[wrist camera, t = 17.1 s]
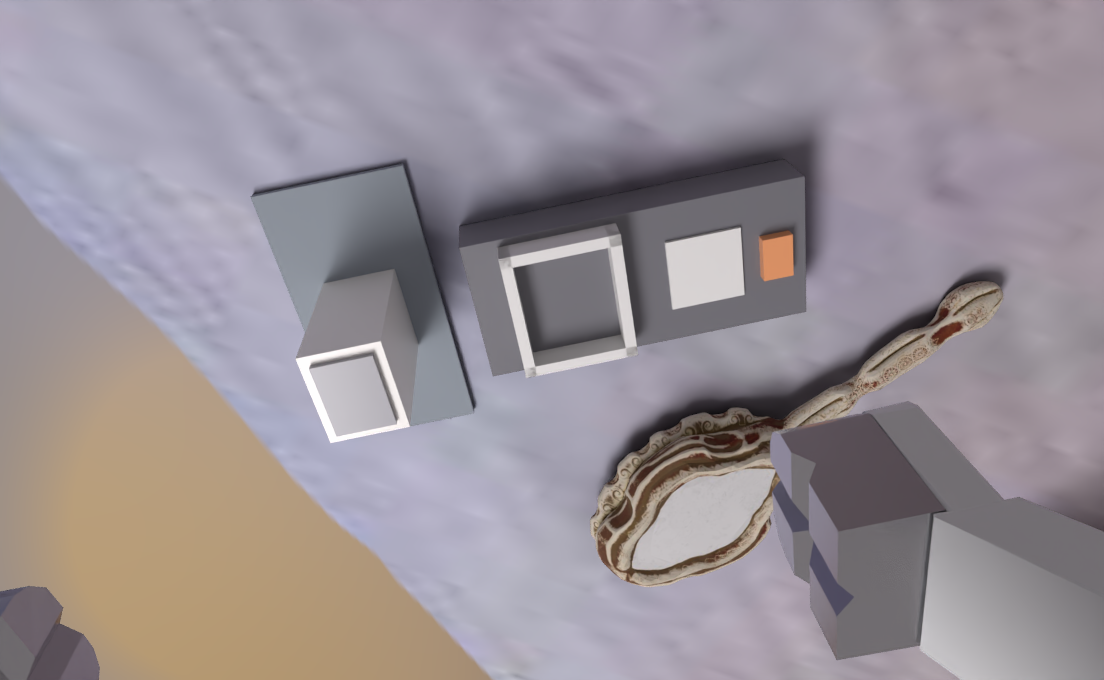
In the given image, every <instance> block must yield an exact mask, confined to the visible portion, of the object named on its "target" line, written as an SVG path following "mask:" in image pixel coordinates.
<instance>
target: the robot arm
mask: <svg viewBox="0 0 1104 680" xmlns="http://www.w3.org/2000/svg"><path fill="white" fill-rule="evenodd" d="M770 458H771V463H772V465H773V466H774V468H775V470H776V472H777V474H778V476H779V478H780V481H779V482H778V484H777V485H776V487H775V488H774V489H773V491H772V498H773V511H774V518H775V522H776V527H777V531H778V536H779V539H780V542H781V545H782V547H783V550H784V553H785V556H786V558H787V560H788V562H789V564H790V566H791V569H792V571H793V573H794V575H796V576H798V577H799V578H801V579H803V580H804V581H806V582H808V583H809V584H810V608H811V610H812V612H813V614H814V616H815V618H816V620H817V622H818V624H819V626H820V628H821V630H822V632H823V634H824V636H825V638H826V640H827V642H828V644H829V646H830V648H831V650H832V652H833V654H834V656H835V658H836V660H841V659H846V658H852V657H858V656H863V655H869V654H875V653H880V652H886V651H892V650H897V649H903V648H909V647H914V646H920V650H921V651H922V652H924V653H925V654H926V655H928V656H929V657H930V658H932V659H933V660H935V661H936V662H937V663H939V664H940V665H941V666H943V667H944V668H945V669H947V670H948V671H950V672H951V673H952V674H954V675H955V676H956V677H958V678H959V679H961V680H1104V532H1103V531H1101V530H1099V529H1096V528H1094V527H1091V526H1089V525H1086V524H1084V523H1081V522H1079V521H1077V520H1074V519H1072V518H1069V517H1067V516H1064V515H1062V514H1059V513H1057V512H1055V511H1052V510H1050V509H1047V508H1045V507H1042V506H1040V505H1037V504H1035V503H1032V502H1030V501H1028V500H1025V499H1023V498H1020V497H1017V498H1012V499H1007V500H1004V499H1003V498H1002V497H1001V496H1000V495H999V493H998V492H997V491H996V490H995V489H994V488H993V487H992V486H991V485H990V484H989V483H988V481H987V480H986V479H985V478H984V477H983V476H982V475H981V474H980V473H979V472H978V471H977V469H976V468H975V467H974V466H973V465H972V464H971V463H970V462H969V461H968V460H967V459H966V457H965V456H964V455H963V454H962V453H961V452H960V451H959V450H958V449H957V448H956V447H955V445H954V444H953V443H952V442H951V441H950V440H949V439H948V438H947V437H946V436H945V434H944V433H943V432H942V431H941V430H940V429H939V428H938V427H937V426H936V425H935V424H934V422H933V421H932V420H931V419H930V418H929V417H928V416H927V415H926V414H925V413H924V412H923V410H922V409H921V408H920V407H919V406H918V405H916V404H913V403H911V402H909V401H907V402H903V403H899V404H894V405H890V406H886V407H881V408H877V409H873V410H868V411H864V412H863V413H862V414H855V415H850V416H845V417H841V418H836V419H831V420H827V421H822V422H817V423H813V424H808V425H803V426H799V427H794V428H789V429H784V430H780V431H775V432H772V436H771V441H770ZM62 611H63V607H62V606H61V605H60V603H59V602H58V601H57V600H56V598H55V597H54V596H53V595H52V594H51V593H50V592H49V590H48V589H47V588H45V587H33V586H27V587H21V588H16V589H10V590H5V591H0V680H99V670H100V667H99V664H98V661H97V658H96V654H95V651H94V649H93V647H92V646H91V644H90V643H89V641H88V640H87V639H86V637H85V636H84V635H83V634H82V633H79V632H77V631H75V630H73V629H71V628H69V627H66V626H64V625H62V624H60V620H61V615H62Z"/></svg>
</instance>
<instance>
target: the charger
mask: <svg viewBox="0 0 1104 680" xmlns="http://www.w3.org/2000/svg"><path fill="white" fill-rule="evenodd" d="M418 346H419V345H418V342H417V338H416V335H415V332H414V329H413V326H412V323H411V319H410V316H409V313H408V310H407V307H406V304H405V301H404V297H403V294H402V291H401V288H400V285H399V282H398V278H397V275H396V272H395V269H391V270H386V271H381V272H376V273H371V274H366V275H362V276H357V277H352V278H347V279H342V280H338V281H333V282H328V283H323V286H322V289H321V291H320V294H319V297H318V299H317V302H316V305H315V308H314V310H313V313H312V316H311V318H310V321H309V324H308V327H307V329H306V332H305V335H304V337H303V340H302V343H301V346H300V348H299V351H298V354H297V356H296V361H297V363H298V366H299V368H300V370H301V373H302V375H303V378H304V380H305V382H306V385H307V387H308V390H309V392H310V394H311V397H312V399H313V402H314V404H315V406H316V409H317V411H318V414H319V416H320V418H321V421H322V423H323V425H324V428H325V430H326V433H327V435H328V437H329V440H330V442H331V443H333V442H338V441H343V440H348V439H352V438H357V437H362V436H367V435H372V434H377V433H382V432H386V431H391V430H396V429H401V428H406V427H410V422H411V413H412V403H413V394H414V384H415V375H416V365H417V355H418Z"/></svg>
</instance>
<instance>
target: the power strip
mask: <svg viewBox="0 0 1104 680" xmlns="http://www.w3.org/2000/svg"><path fill="white" fill-rule="evenodd" d="M459 250H460V253H461V257H462V261H463V265H464V268H465V272H466V276H467V280H468V284H469V287H470V291H471V295H472V299H473V303H474V306H475V310H476V314H477V318H478V321H479V325H480V329H481V333H482V337H483V340H484V344H485V348H486V352H487V356H488V359H489V363H490V367H491V371H492V374H493V376H497V375H502V374H507V373H512V372H517V371H521V370H525V374H526V378H530V377H534V376H539V375H544V374H549V373H554V372H559V371H563V370H568V369H573V368H578V367H583V366H588V365H592V364H597V363H602V362H607V361H612V360H617V359H622V358H626V357H631V356H636V355H638V351H637V347H638V346H642V345H647V344H652V343H657V342H662V341H667V340H672V339H676V338H681V337H686V336H691V335H696V334H701V333H705V332H710V331H715V330H720V329H725V328H730V327H734V326H739V325H744V324H749V323H754V322H759V321H764V320H768V319H773V318H778V317H783V316H788V315H793V314H797V313H802V312H806V244H805V176H804V175H803V174H801V173H800V172H799V171H798V170H796V169H795V168H794V167H793V166H792V165H790V164H789V163H788V162H787V161H785V160H784V159H781V160H777V161H772V162H767V163H762V164H757V165H753V166H748V167H743V168H738V169H733V170H728V171H724V172H719V173H714V174H709V175H704V176H700V177H695V178H690V179H685V180H680V181H675V182H671V183H666V184H661V185H656V186H651V187H647V188H642V189H637V190H632V191H627V192H623V193H618V194H613V195H608V196H603V197H598V198H594V199H589V200H584V201H579V202H574V203H570V204H565V205H560V206H555V207H550V208H546V209H541V210H536V211H531V212H526V213H521V214H517V215H512V216H507V217H502V218H497V219H493V220H488V221H483V222H478V223H473V224H469V225H464V226H459Z"/></svg>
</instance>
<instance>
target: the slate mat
mask: <svg viewBox="0 0 1104 680" xmlns="http://www.w3.org/2000/svg"><path fill="white" fill-rule="evenodd" d="M251 199H252V202H253V204H254V207H255V209H256V212H257V214H258V217H259V219H260V222H261V224H262V227H263V229H264V232H265V234H266V237H267V239H268V242H269V244H270V247H271V249H272V252H273V254H274V257H275V259H276V262H277V264H278V267H279V269H280V272H281V274H282V276H283V279H284V281H285V284H286V286H287V289H288V291H289V294H290V296H291V299H292V301H293V304H294V306H295V309H296V311H297V314H298V316H299V319H300V321H301V324H302V326H303V329H304V331H305V332H306V329H307V327H308V324H309V321H310V318H311V316H312V313H313V310H314V308H315V305H316V302H317V299H318V297H319V294H320V291H321V289H322V286H323V283H328V282H333V281H338V280H342V279H347V278H352V277H357V276H362V275H366V274H371V273H376V272H381V271H386V270H391V269H395V272H396V275H397V278H398V282H399V285H400V288H401V291H402V294H403V297H404V301H405V304H406V307H407V310H408V313H409V316H410V319H411V323H412V326H413V329H414V332H415V335H416V338H417V342H418V345H419V346H418V355H417V365H416V375H415V384H414V394H413V403H412V413H411V422H410V426H414V425H419V424H424V423H429V422H434V421H439V420H443V419H448V418H453V417H458V416H463V415H468V414H472V413H474V408H473V404H472V401H471V397H470V394H469V390H468V387H467V383H466V380H465V376H464V373H463V369H462V366H461V362H460V359H459V355H458V352H457V348H456V345H455V341H454V338H453V335H452V331H451V328H450V324H449V321H448V317H447V314H446V310H445V307H444V303H443V300H442V296H441V293H440V289H439V286H438V282H437V279H436V275H435V272H434V268H433V265H432V261H431V258H430V254H429V251H428V248H427V244H426V241H425V237H424V234H423V230H422V227H421V223H420V220H419V216H418V213H417V209H416V206H415V202H414V199H413V195H412V192H411V188H410V185H409V181H408V178H407V174H406V171H405V167H404V164H398V165H393V166H388V167H383V168H379V169H374V170H369V171H364V172H359V173H355V174H350V175H345V176H340V177H335V178H331V179H326V180H321V181H316V182H311V183H307V184H302V185H297V186H292V187H287V188H283V189H278V190H273V191H268V192H263V193H259V194H254V195H252V196H251Z"/></svg>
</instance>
